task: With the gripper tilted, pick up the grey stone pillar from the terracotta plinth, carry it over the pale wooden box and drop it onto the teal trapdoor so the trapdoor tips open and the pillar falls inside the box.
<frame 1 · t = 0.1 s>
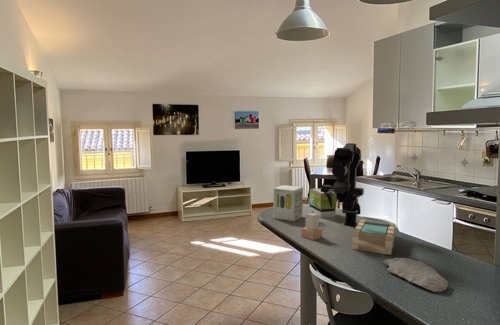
hand: (341, 208, 164), 15 cm above the breakfast bar, tool pointing down, fingers open, 9 cm apart
plinth: (311, 236, 169), on the breakfast bar
tea box: (321, 214, 212), on the breakfast bar
stone pillar: (311, 228, 168), point 4 cm above the breakfast bar, touching plinth
trapdoor box: (375, 240, 164), on the breakfast bar
supplement box: (287, 217, 204), on the breakfast bar
trapdoor: (374, 228, 159), point 7 cm above the breakfast bar, hinge at 0.0°
stone: (415, 277, 126), on the breakfast bar
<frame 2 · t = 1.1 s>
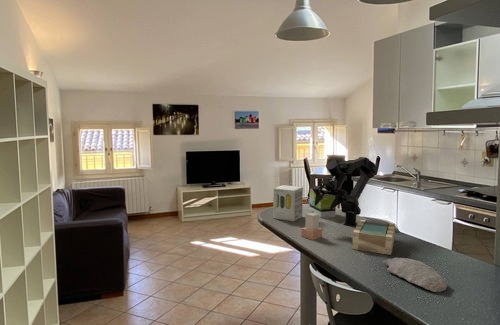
hand: (322, 206, 173), 13 cm above the breakfast bar, tool tilted 45°, fingers open, 9 cm apart
nothing on the breakfast bar moved.
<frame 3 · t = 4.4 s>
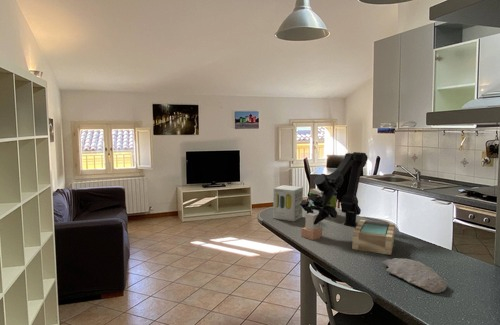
hand: (310, 223, 167), 7 cm above the breakfast bar, tool tilted 45°, fingers closed on stone pillar, 4 cm apart
stone pillar: (311, 228, 168), point 4 cm above the breakfast bar, touching gripper, plinth
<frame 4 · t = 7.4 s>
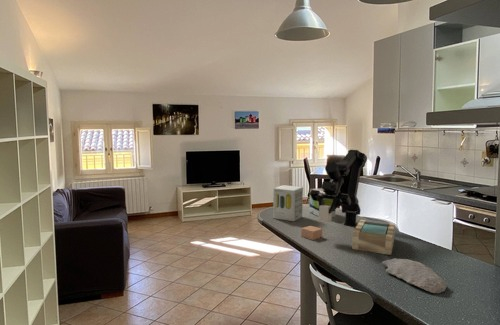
hand: (324, 212, 162), 13 cm above the breakfast bar, tool tilted 45°, fingers closed on stone pillar, 4 cm apart
stone pillar: (324, 221, 163), point 9 cm above the breakfast bar, tilted 6°, touching gripper
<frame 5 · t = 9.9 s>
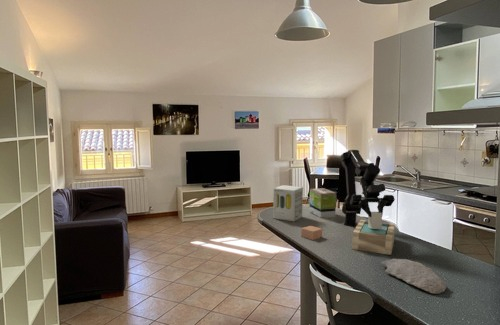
hand: (376, 216, 155), 13 cm above the breakfast bar, tool tilted 45°, fingers closed on stone pillar, 4 cm apart
stone pillar: (374, 228, 157), point 8 cm above the breakfast bar, tilted 7°, touching gripper
when the fingers open (13 cm above the breakfast bar, at t = 10.8 s): stone pillar drops 4 cm, resting on trapdoor.
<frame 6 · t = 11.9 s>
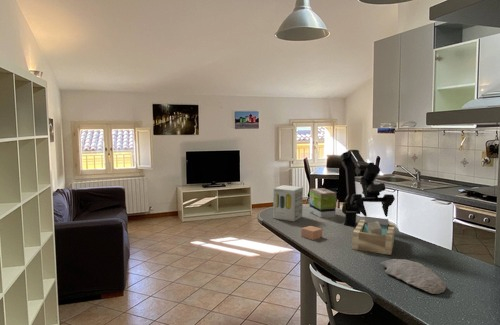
hand: (376, 216, 155), 14 cm above the breakfast bar, tool tilted 45°, fingers open, 9 cm apart
stone pillar: (374, 237, 158), point 4 cm above the breakfast bar, tilted 28°, touching trapdoor
trapdoor: (374, 233, 160), point 5 cm above the breakfast bar, hinge at -28.4°, touching stone pillar
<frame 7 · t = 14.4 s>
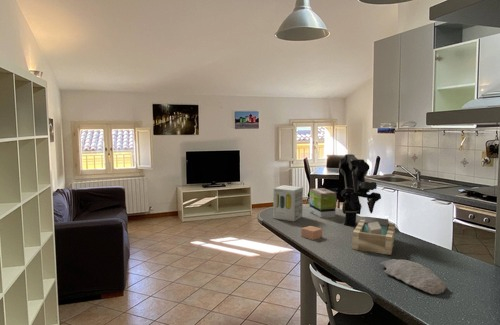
hand: (362, 211, 166), 13 cm above the breakfast bar, tool tilted 35°, fingers open, 9 cm apart
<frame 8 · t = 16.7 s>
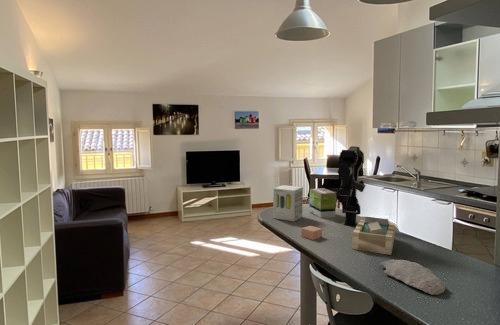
hand: (346, 206, 176), 13 cm above the breakfast bar, tool pointing down, fingers open, 9 cm apart
trapdoor: (374, 233, 160), point 5 cm above the breakfast bar, hinge at -28.4°, touching stone pillar
at the end: stone pillar point 3.5 cm above the breakfast bar; stone pillar inside the target area on the trapdoor box (1.8 cm from its centre), point 3.5 cm above the trapdoor box's base; the gripper is holding nothing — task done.
